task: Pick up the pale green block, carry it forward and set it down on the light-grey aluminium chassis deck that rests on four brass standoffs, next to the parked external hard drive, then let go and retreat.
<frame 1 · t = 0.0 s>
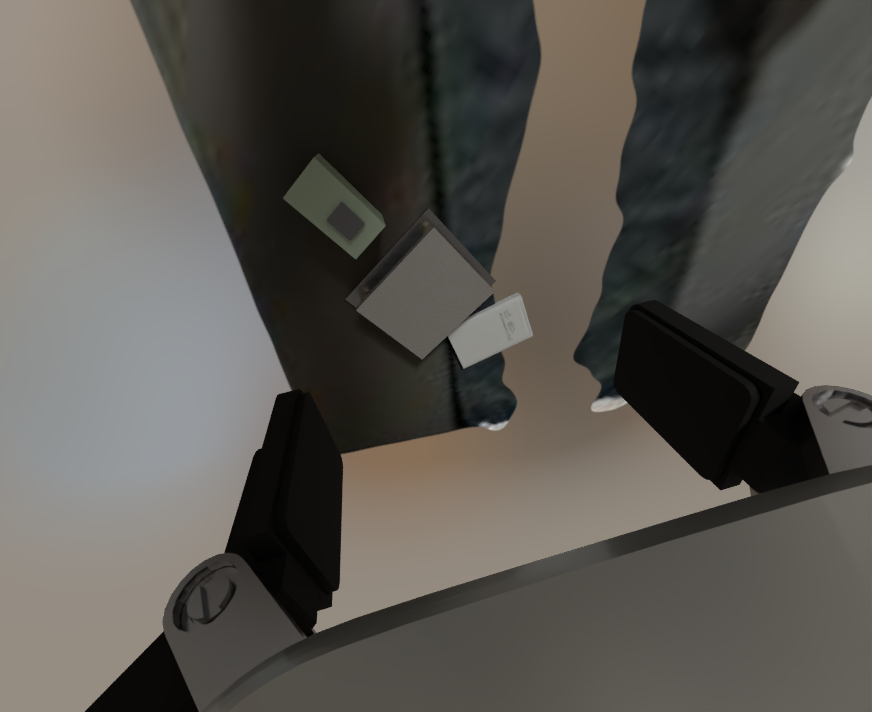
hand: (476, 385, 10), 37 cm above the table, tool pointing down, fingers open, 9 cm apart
chassis: (422, 288, 48), on the table
pale green block: (338, 202, 40), on the table
external hard drive: (487, 329, 55), on the table
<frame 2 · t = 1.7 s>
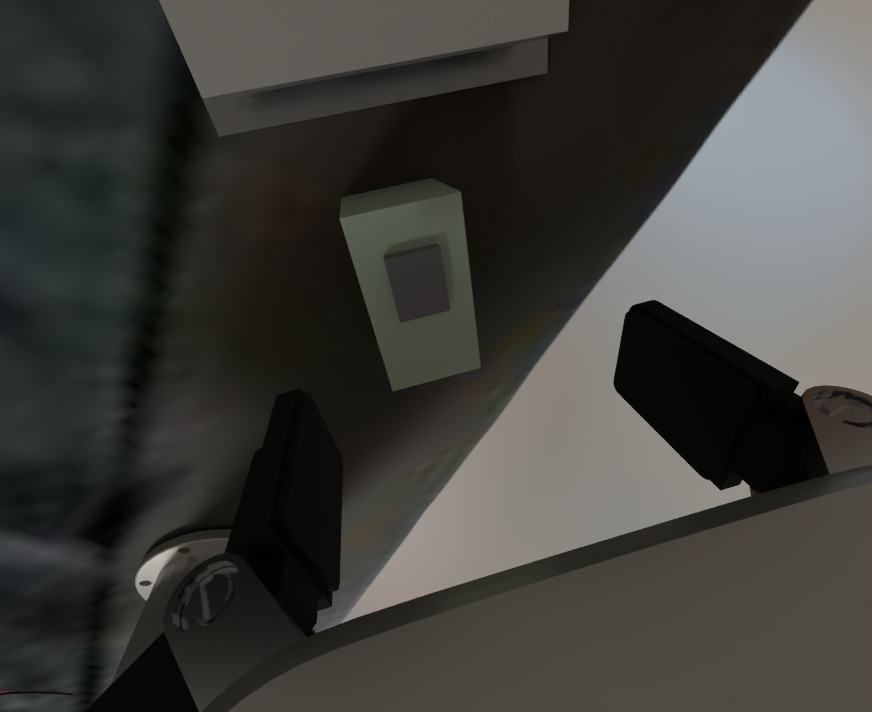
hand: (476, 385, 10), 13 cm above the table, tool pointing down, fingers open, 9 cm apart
pale green block: (404, 266, 21), on the table
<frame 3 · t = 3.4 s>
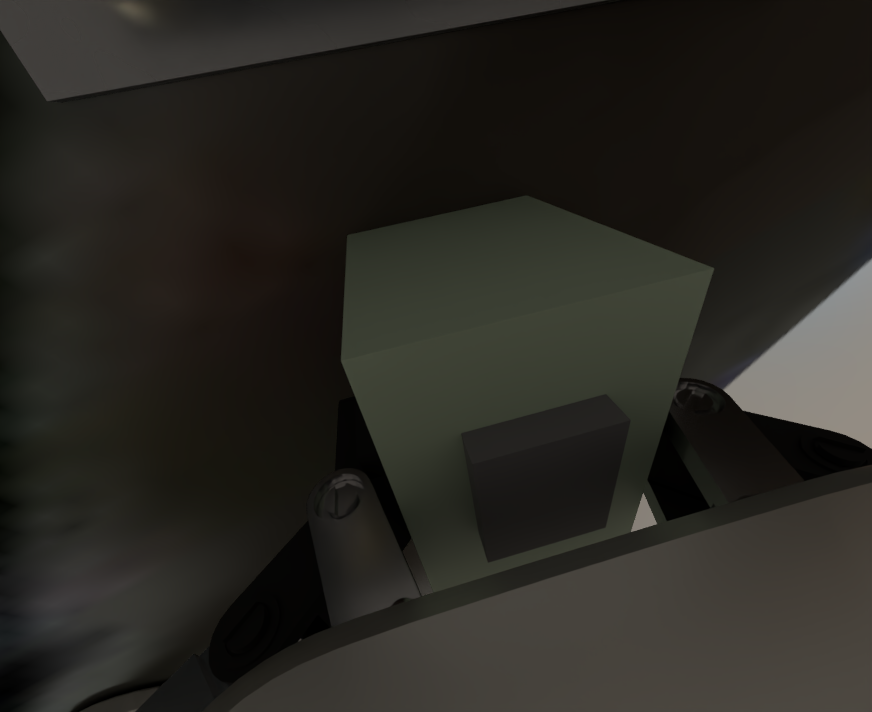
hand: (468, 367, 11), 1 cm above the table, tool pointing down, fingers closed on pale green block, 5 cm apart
pale green block: (459, 350, 12), on the table, touching gripper
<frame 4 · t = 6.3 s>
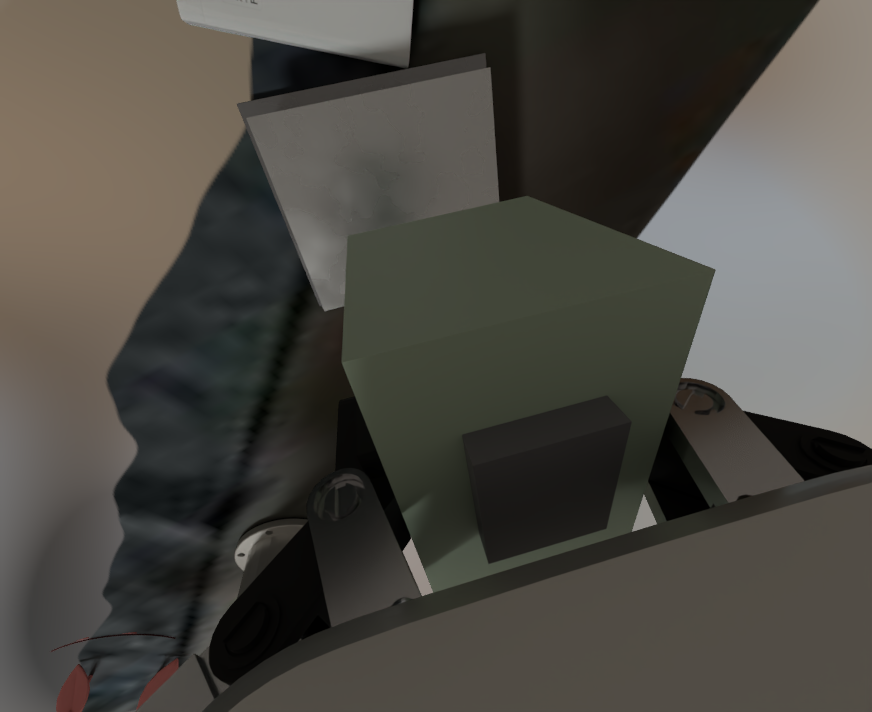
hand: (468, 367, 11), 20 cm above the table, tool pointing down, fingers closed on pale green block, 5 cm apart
chassis: (391, 195, 26), on the table
pale green block: (459, 351, 12), point 19 cm above the table, touching gripper
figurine: (133, 653, 53), on the table
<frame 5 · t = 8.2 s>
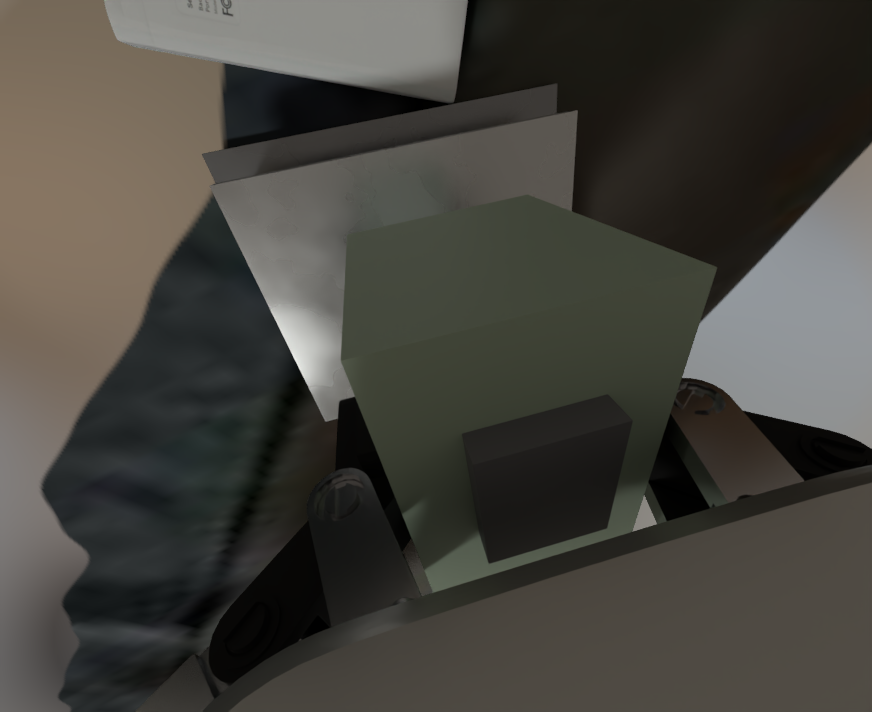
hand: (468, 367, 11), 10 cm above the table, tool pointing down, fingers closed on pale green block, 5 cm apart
chassis: (416, 266, 19), on the table
pale green block: (459, 350, 12), point 9 cm above the table, touching gripper
when the fingers open (6 cm above the table, at t = 9.5 s): pale green block stays where it is, resting on chassis.
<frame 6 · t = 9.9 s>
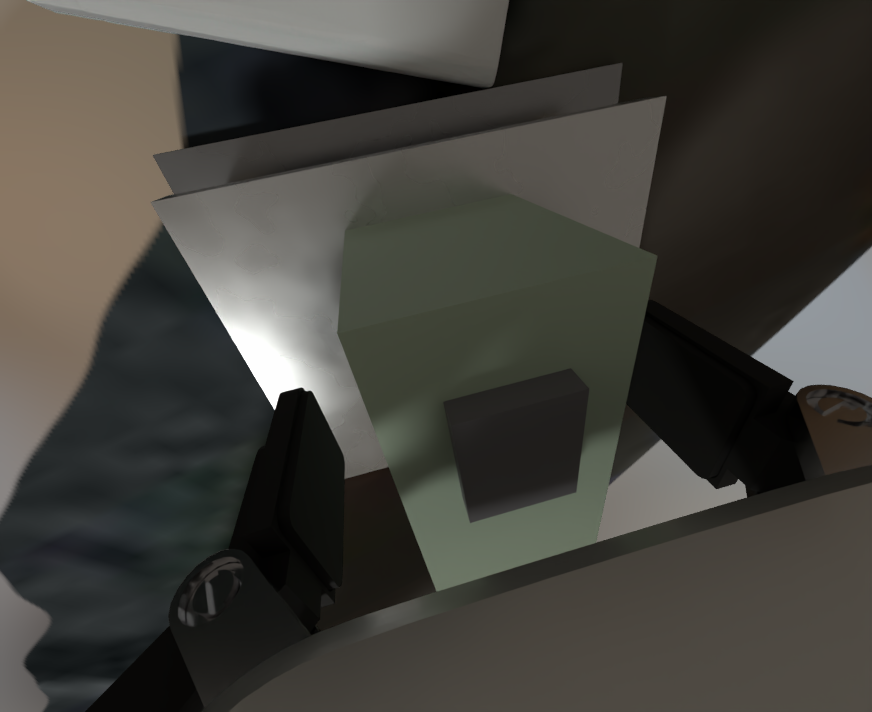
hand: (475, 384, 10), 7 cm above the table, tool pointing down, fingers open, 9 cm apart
chassis: (432, 293, 16), on the table
pale green block: (450, 340, 13), point 4 cm above the table, touching chassis
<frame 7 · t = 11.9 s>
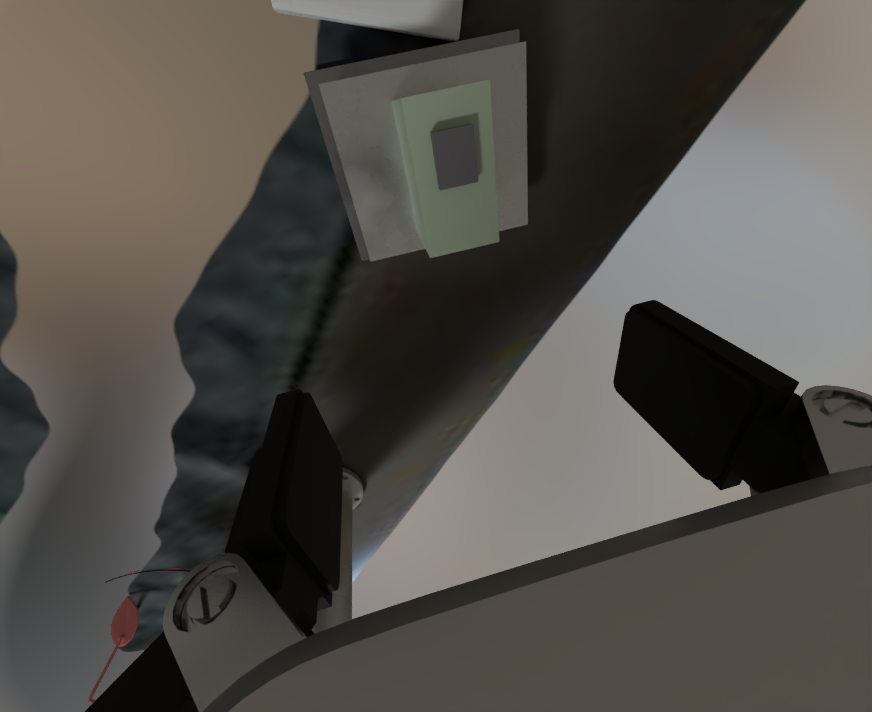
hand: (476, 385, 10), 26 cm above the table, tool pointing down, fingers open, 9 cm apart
chassis: (429, 159, 29), on the table
pale green block: (437, 167, 26), point 4 cm above the table, touching chassis
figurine: (175, 589, 59), on the table
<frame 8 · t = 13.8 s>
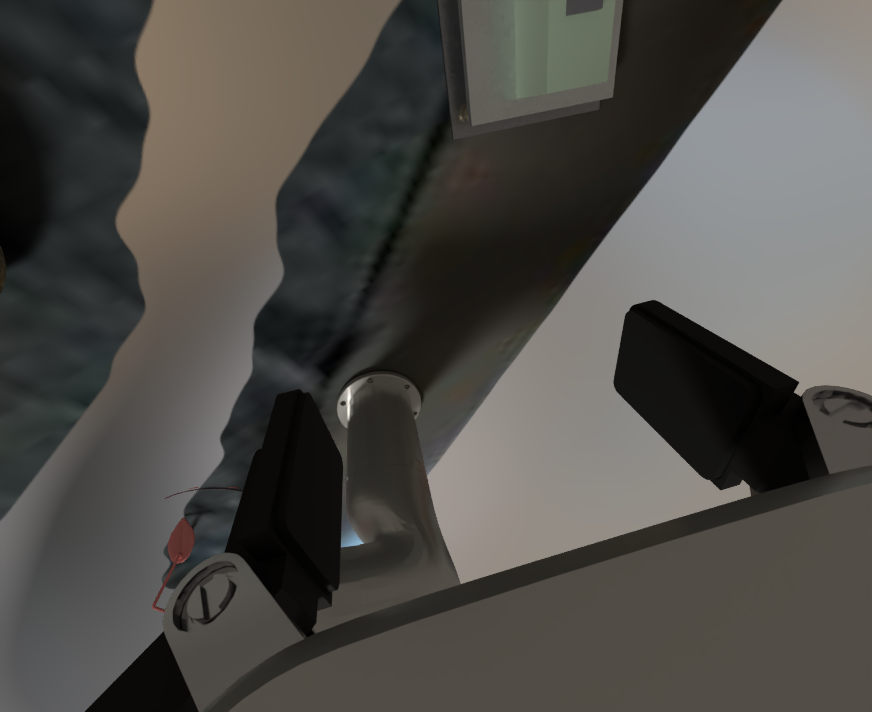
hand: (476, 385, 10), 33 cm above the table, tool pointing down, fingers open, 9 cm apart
chassis: (525, 35, 32), on the table
pale green block: (543, 27, 29), point 4 cm above the table, touching chassis
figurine: (228, 514, 60), on the table
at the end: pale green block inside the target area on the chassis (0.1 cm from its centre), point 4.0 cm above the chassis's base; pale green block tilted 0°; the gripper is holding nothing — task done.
